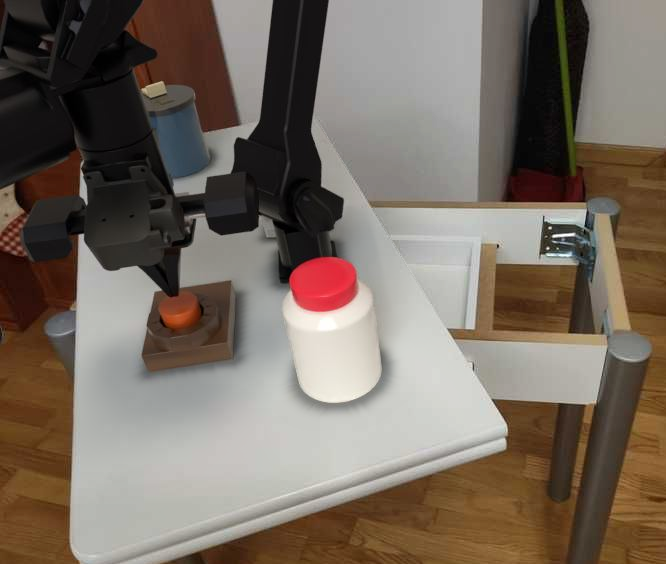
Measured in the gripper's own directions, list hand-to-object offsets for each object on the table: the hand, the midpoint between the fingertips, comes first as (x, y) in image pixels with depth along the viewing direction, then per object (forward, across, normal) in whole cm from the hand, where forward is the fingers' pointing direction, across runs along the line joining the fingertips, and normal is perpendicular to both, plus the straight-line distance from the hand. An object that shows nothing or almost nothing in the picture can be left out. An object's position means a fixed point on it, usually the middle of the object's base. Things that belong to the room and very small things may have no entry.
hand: (174, 294), depth 61 cm
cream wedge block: (-4, -6, +43) cm, 43 cm away
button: (+3, 0, 0) cm, 3 cm away
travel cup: (+6, -5, +41) cm, 42 cm away
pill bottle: (+6, +14, -7) cm, 17 cm away
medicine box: (+7, +10, +21) cm, 24 cm away
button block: (+6, 0, +2) cm, 7 cm away
